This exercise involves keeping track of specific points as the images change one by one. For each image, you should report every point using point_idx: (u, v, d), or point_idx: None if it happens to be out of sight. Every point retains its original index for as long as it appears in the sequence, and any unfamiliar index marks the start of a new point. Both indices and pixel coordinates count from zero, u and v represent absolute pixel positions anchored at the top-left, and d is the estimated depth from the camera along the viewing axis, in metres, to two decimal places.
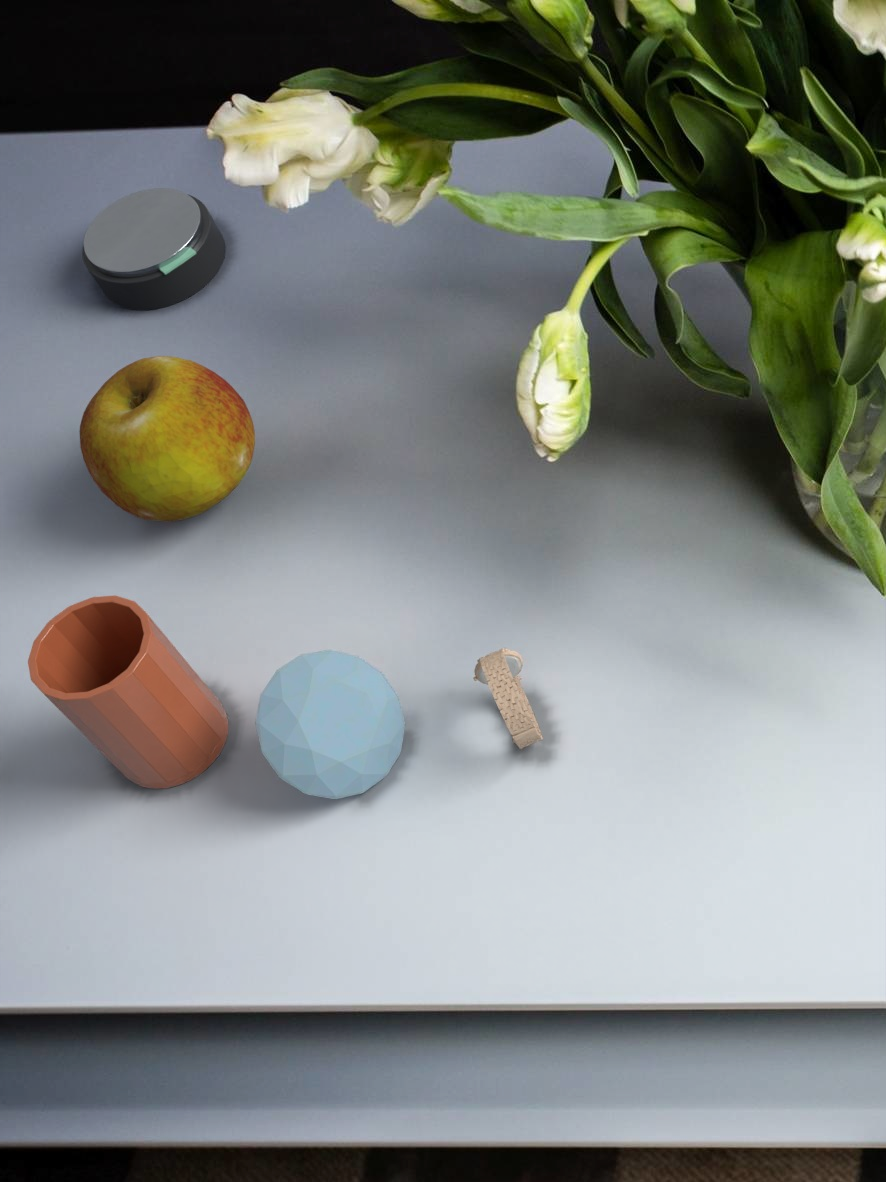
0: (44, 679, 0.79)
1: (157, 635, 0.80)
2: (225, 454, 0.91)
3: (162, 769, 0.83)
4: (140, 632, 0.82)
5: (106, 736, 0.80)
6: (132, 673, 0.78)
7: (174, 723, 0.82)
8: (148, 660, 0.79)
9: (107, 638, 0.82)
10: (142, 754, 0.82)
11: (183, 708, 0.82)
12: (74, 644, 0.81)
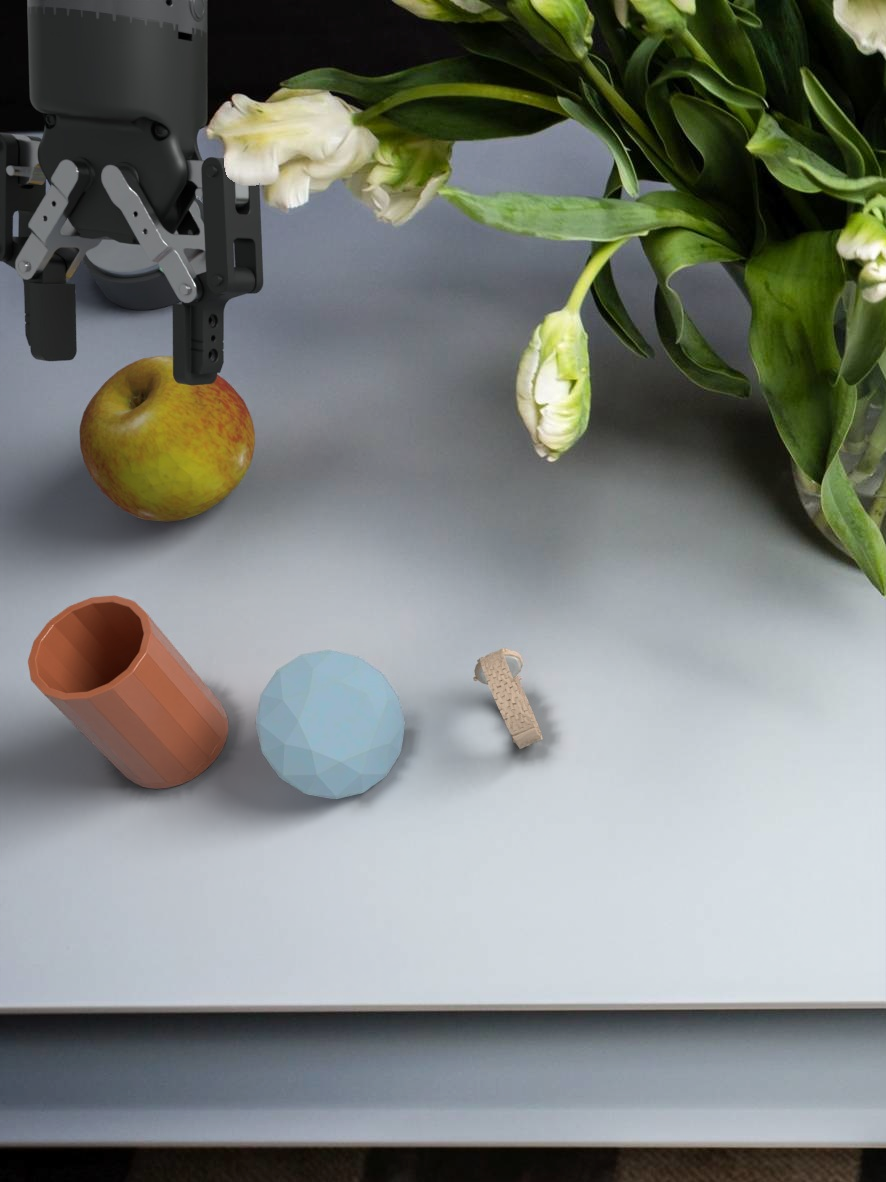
0: (44, 679, 0.79)
1: (157, 635, 0.80)
2: (225, 454, 0.91)
3: (162, 769, 0.83)
4: (140, 632, 0.82)
5: (106, 736, 0.80)
6: (132, 673, 0.78)
7: (174, 723, 0.82)
8: (148, 660, 0.79)
9: (107, 638, 0.82)
10: (142, 754, 0.82)
11: (183, 708, 0.82)
12: (74, 644, 0.81)
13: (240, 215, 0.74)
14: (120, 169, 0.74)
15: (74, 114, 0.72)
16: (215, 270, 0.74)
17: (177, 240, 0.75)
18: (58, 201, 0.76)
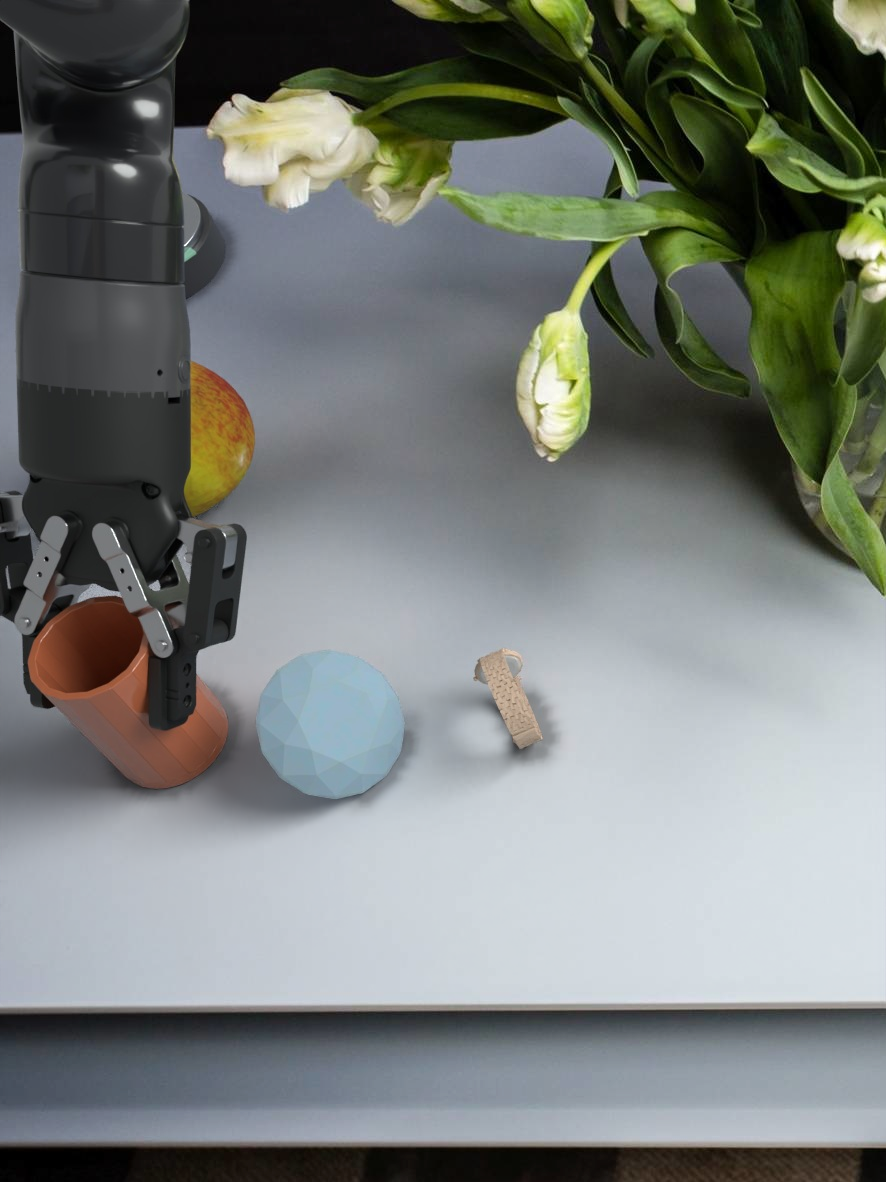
0: (44, 679, 0.79)
1: None
2: (225, 454, 0.91)
3: (162, 769, 0.83)
4: (140, 632, 0.82)
5: (106, 736, 0.80)
6: (132, 673, 0.78)
7: None
8: None
9: (107, 638, 0.82)
10: (142, 754, 0.82)
11: None
12: (74, 644, 0.81)
13: (225, 580, 0.78)
14: (113, 528, 0.77)
15: (68, 482, 0.75)
16: (194, 629, 0.77)
17: (159, 597, 0.78)
18: (46, 552, 0.78)
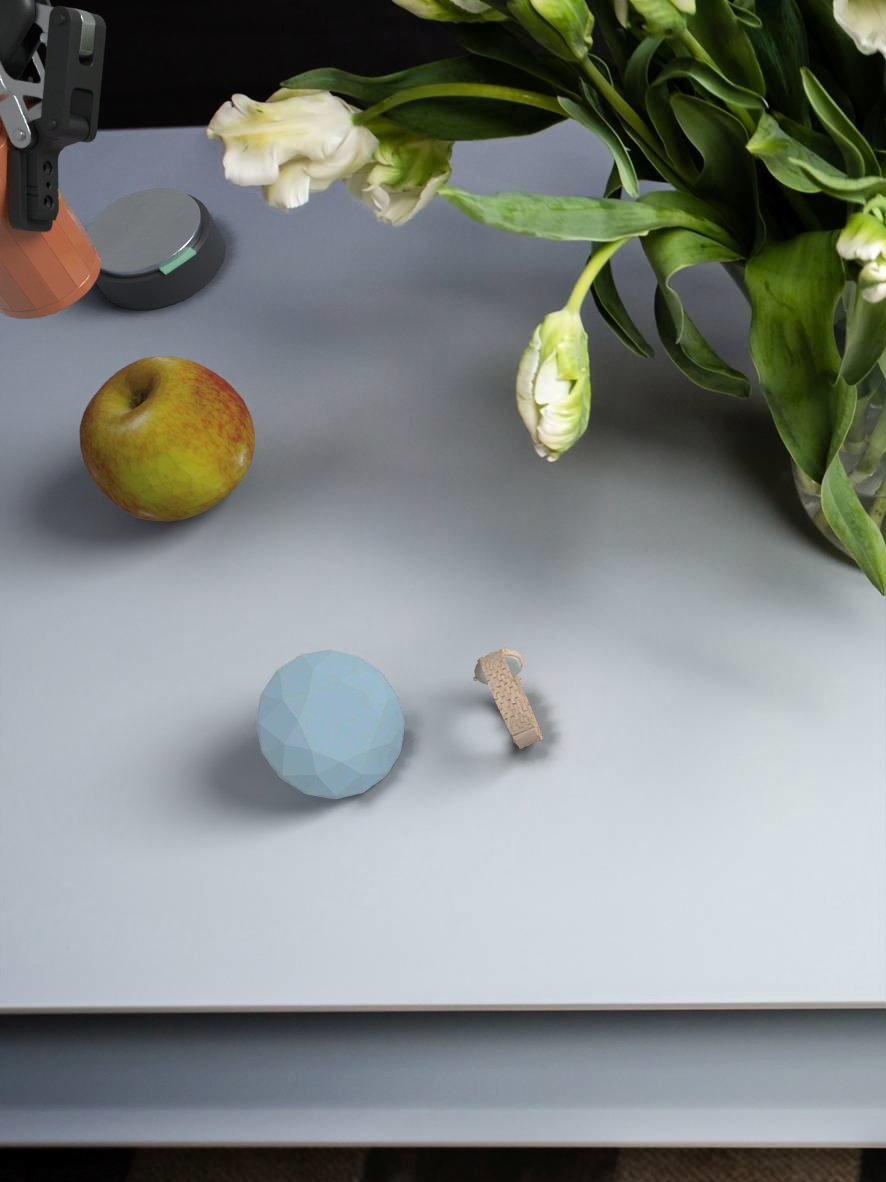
0: None
1: None
2: (225, 454, 0.91)
3: (29, 291, 0.83)
4: None
5: None
6: None
7: (38, 235, 0.81)
8: None
9: None
10: (6, 267, 0.81)
11: None
12: None
13: (82, 66, 0.77)
14: None
15: None
16: (51, 115, 0.77)
17: (17, 86, 0.78)
18: None
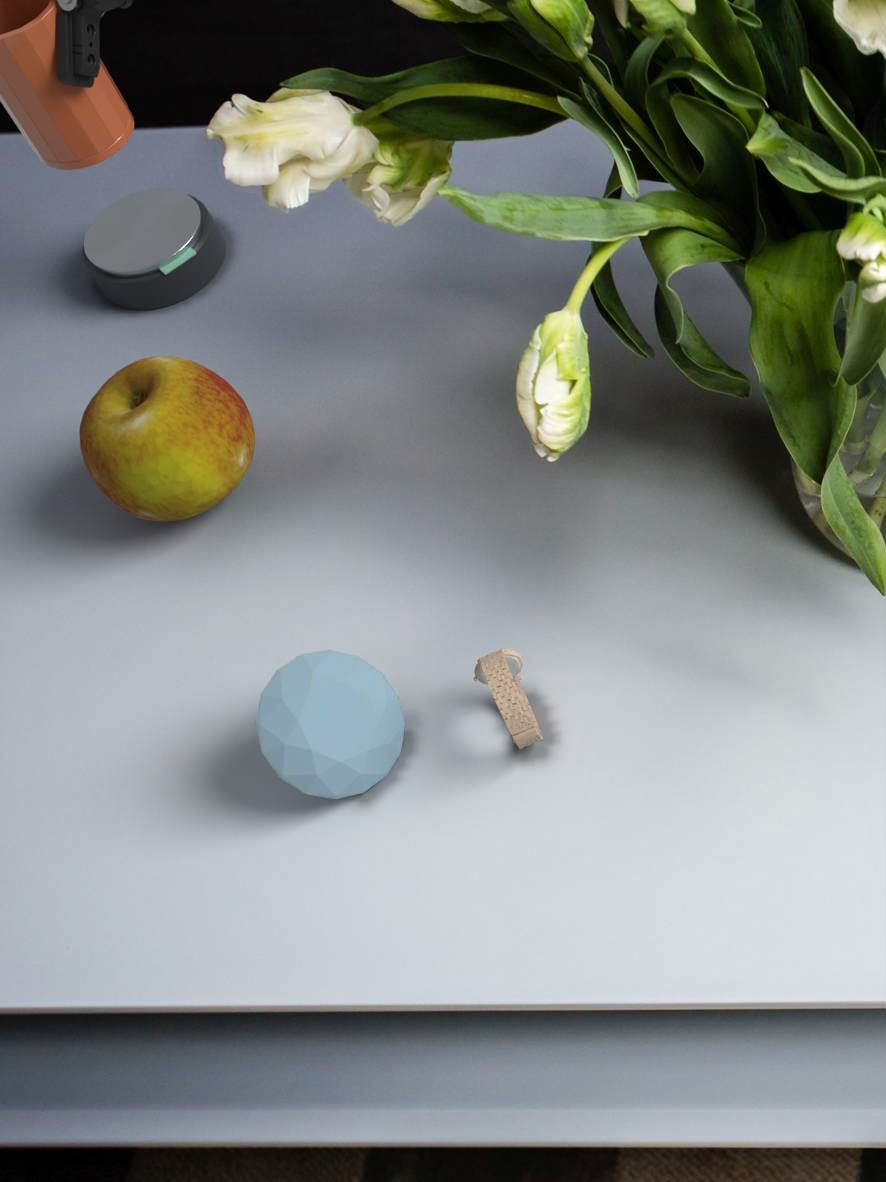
0: None
1: None
2: (225, 454, 0.91)
3: (73, 143, 0.95)
4: None
5: (21, 93, 0.92)
6: (41, 21, 0.90)
7: (82, 91, 0.93)
8: (55, 15, 0.90)
9: (24, 22, 0.94)
10: (54, 120, 0.94)
11: None
12: None
13: None
14: None
15: None
16: None
17: None
18: None
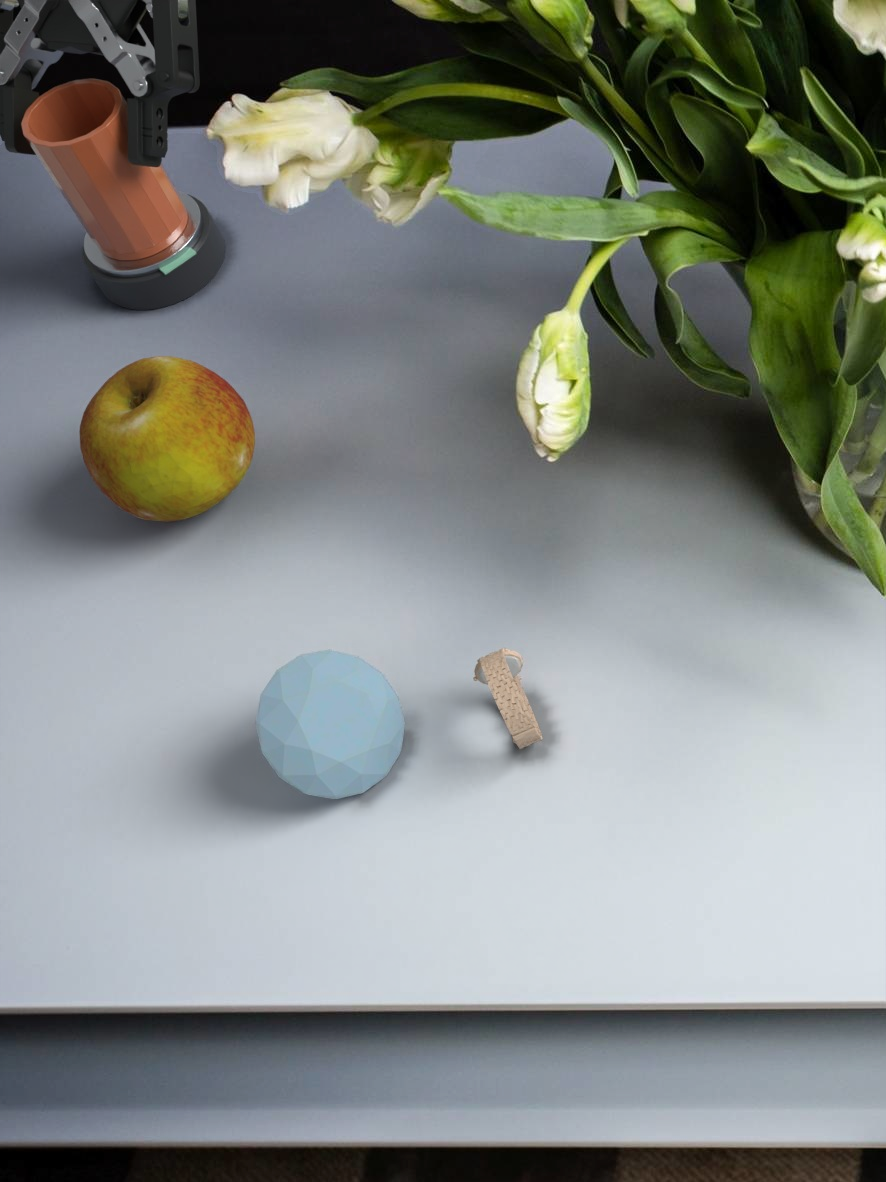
0: None
1: None
2: (225, 454, 0.91)
3: (132, 236, 1.01)
4: None
5: (85, 192, 0.98)
6: (106, 128, 0.96)
7: (141, 190, 0.99)
8: (119, 121, 0.96)
9: (86, 124, 1.00)
10: (115, 216, 1.00)
11: (149, 179, 1.00)
12: (60, 124, 0.99)
13: (182, 26, 0.95)
14: None
15: None
16: (163, 69, 0.94)
17: (130, 47, 0.95)
18: (30, 17, 0.95)
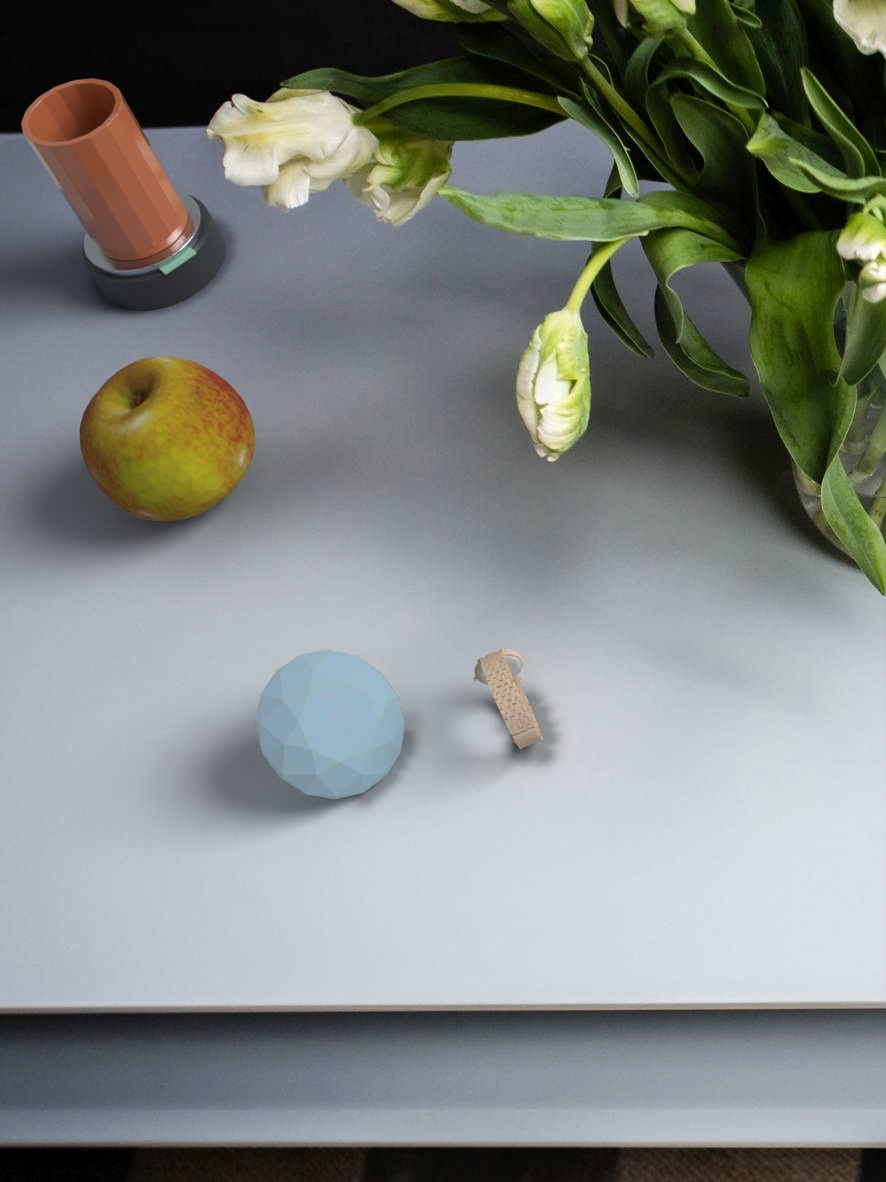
0: None
1: (127, 107, 0.98)
2: (225, 454, 0.91)
3: (132, 236, 1.01)
4: None
5: (85, 192, 0.98)
6: (106, 128, 0.96)
7: (141, 190, 0.99)
8: (119, 121, 0.96)
9: (86, 124, 1.00)
10: (115, 216, 1.00)
11: (149, 179, 1.00)
12: (60, 124, 0.99)
13: None
14: None
15: None
16: None
17: None
18: None
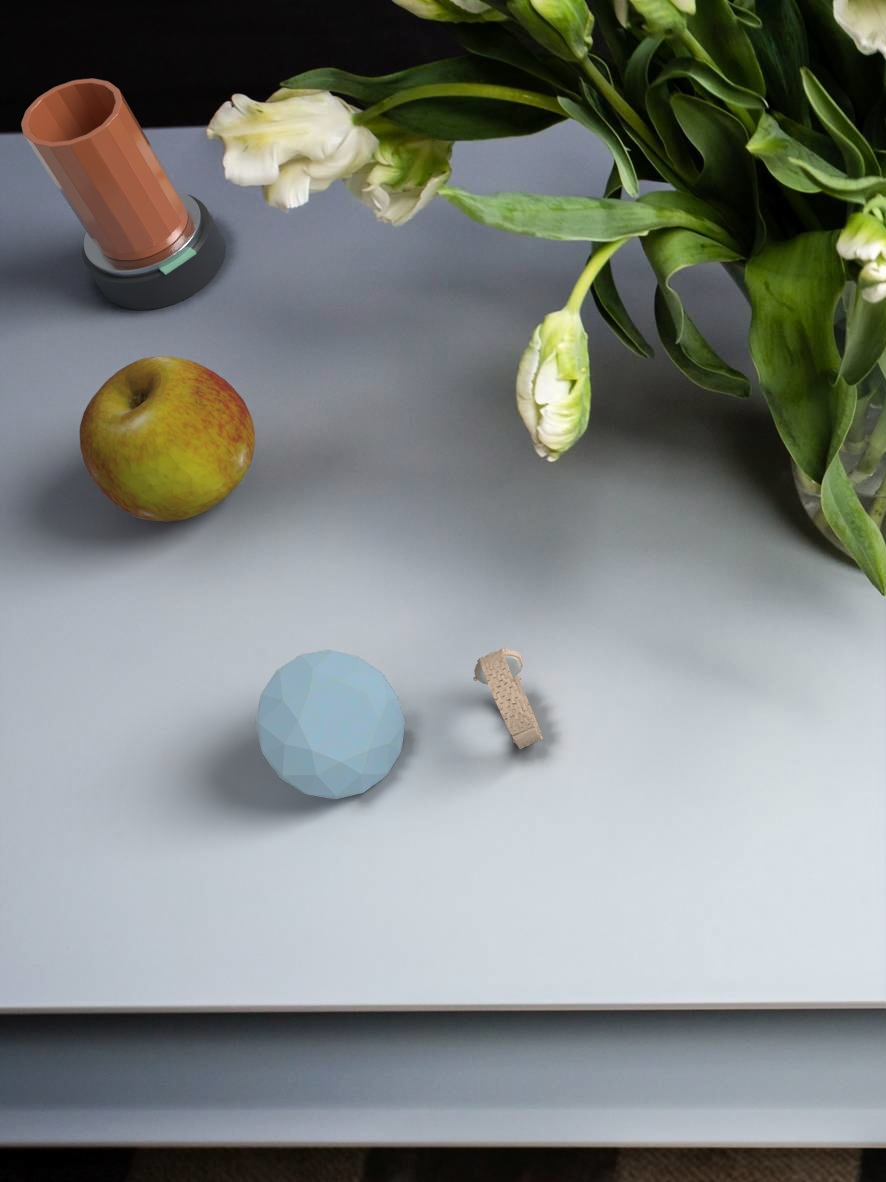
0: None
1: (127, 107, 0.98)
2: (225, 454, 0.91)
3: (132, 236, 1.01)
4: None
5: (85, 192, 0.98)
6: (106, 128, 0.96)
7: (141, 190, 0.99)
8: (119, 121, 0.96)
9: (86, 124, 1.00)
10: (115, 216, 1.00)
11: (149, 179, 1.00)
12: (60, 124, 0.99)
13: None
14: None
15: None
16: None
17: None
18: None
